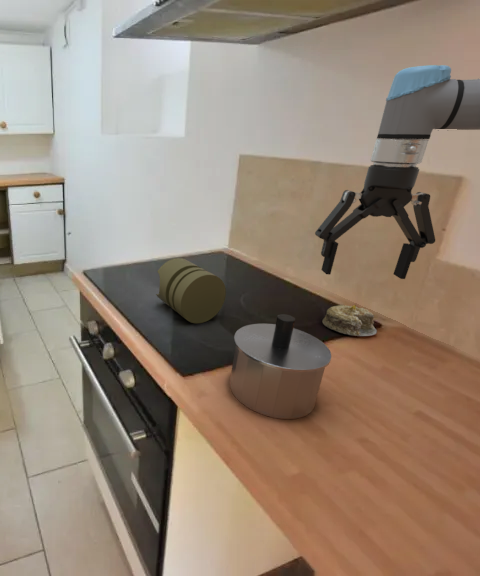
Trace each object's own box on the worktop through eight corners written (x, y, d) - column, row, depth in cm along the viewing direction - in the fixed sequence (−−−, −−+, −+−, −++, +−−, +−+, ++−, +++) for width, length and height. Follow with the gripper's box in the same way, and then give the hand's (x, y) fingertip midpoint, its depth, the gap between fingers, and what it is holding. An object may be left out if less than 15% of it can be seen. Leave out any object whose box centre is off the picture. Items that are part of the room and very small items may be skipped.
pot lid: (311, 332, 63) (318, 302, 61) (345, 380, 51) (356, 344, 49) (227, 326, 65) (231, 296, 63) (241, 371, 53) (247, 336, 51)
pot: (299, 373, 66) (309, 330, 62) (326, 423, 54) (341, 374, 51) (225, 367, 68) (231, 324, 64) (236, 414, 56) (245, 365, 53)
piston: (192, 298, 95) (196, 255, 91) (222, 319, 85) (229, 271, 81) (152, 305, 92) (155, 260, 88) (178, 327, 81) (183, 278, 77)
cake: (314, 328, 82) (317, 305, 80) (331, 315, 88) (334, 293, 86) (368, 342, 75) (373, 317, 73) (383, 327, 81) (387, 304, 79)
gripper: (328, 165, 67) (302, 276, 75) (489, 168, 63) (443, 285, 71) (313, 161, 74) (290, 264, 82) (457, 164, 70) (419, 272, 78)
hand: (361, 274), depth 77 cm, fingers open, 13 cm apart
